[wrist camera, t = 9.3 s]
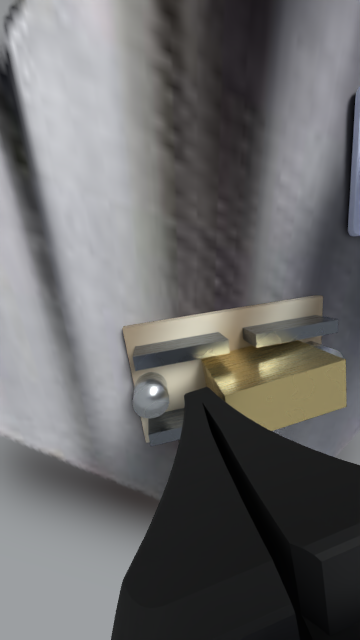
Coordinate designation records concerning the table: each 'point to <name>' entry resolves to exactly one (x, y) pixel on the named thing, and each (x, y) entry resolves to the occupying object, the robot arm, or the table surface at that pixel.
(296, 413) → the khaki rectangular block
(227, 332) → the plywood plate
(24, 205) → the table surface
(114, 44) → the table surface
